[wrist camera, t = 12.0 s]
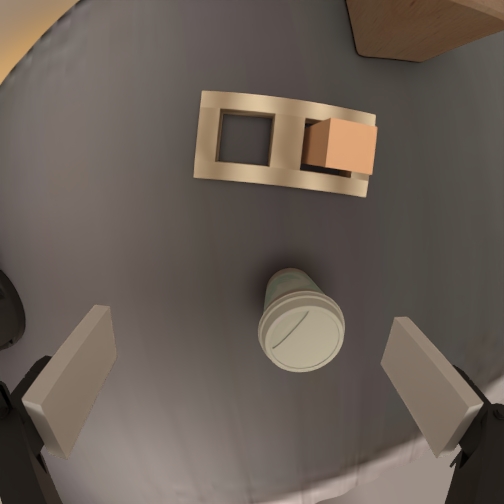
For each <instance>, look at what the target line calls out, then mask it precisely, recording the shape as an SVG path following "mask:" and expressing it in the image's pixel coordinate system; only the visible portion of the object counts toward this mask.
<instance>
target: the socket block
mask: <svg viewBox="0 0 504 504" xmlns="http://www.w3.org/2000/svg"><path fill="white" fill-rule="evenodd" d="M223 114H230V115H242V116H253V117H262V118H271V119H272V124H271V134H270V143H269V152H268V161H267V166H266V165H256V164H246V163H235V162H224V161H219V151H220V141H221V132H222V122H223ZM375 117H376V115H373V114H369V113H365V112H360V111H356V110H351V109H346V108H341V107H336V106H331V105H326V104H320V103H314V102H308V101H302V100H295V99H288V98H281V97H273V96H264V95H255V94H244V93H232V92H217V91H202V97H201V105H200V114H199V124H198V133H197V143H196V154H195V166H194V178H206V179H218V180H230V181H241V182H251V183H261V184H271V185H280V186H288V187H296V188H305V189H312V190H320V191H327V192H334V193H341V194H348V195H355V196H361V197H366V193H367V186H368V179H369V174H365V173H359V172H353V171H348V170H342V169H340V171H339V175H334V174H328V173H321V172H314V171H306V170H300V163H301V154H302V145H303V136H304V127H305V123H308V124H314V125H315V124H317V123H319V122H321V121H324V120H326V119H329V118H336V119H341V120H346V121H351V122H356V123H361V124H365V125H370V126H374V127H375Z"/></svg>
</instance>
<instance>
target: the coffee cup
mask: <svg viewBox="0 0 504 504" xmlns="http://www.w3.org/2000/svg"><path fill="white" fill-rule="evenodd" d="M344 332H345V323H344V317H343V314H342V311H341V309H340V308H339V306H338V305H337V304H336V303H335V302H334V301H333V300H332V299H331V298H329V297H328V296H326V295H325V294H324V293H323V292H322V291H321V290H320V289H319V287H318V286H317V285H316V284H315V283H314V282H313V281H312V280H311V278H310V277H309V276H308V275H307V274H306V273H305V272H303V271H301V270H299V269H296V268H286V269H282V270H280V271H278V272H276V273H275V274H274V275H273V276H272V277H271V278H270V280H269V282H268V284H267V288H266V296H265V304H264V312H263V316H262V318H261V320H260V323H259V327H258V338H259V342H260V344H261V347H262V349H263V351H264V352H265V354H266V355H267V356H268V357H269V358H270V359H271V361H272V362H273V363H275V364H276V365H277V366H279V367H280V368H282V369H285V370H288V371H292V372H307V371H312V370H315V369H317V368H320V367H322V366H324V365H325V364H327V363H328V362H329V361H331V360H332V359H333V358H334V357H335V356H336V354H337V353H338V351H339V350H340V348H341V346H342V343H343V337H344Z"/></svg>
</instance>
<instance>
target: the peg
mask: <svg viewBox="0 0 504 504" xmlns="http://www.w3.org/2000/svg"><path fill="white" fill-rule="evenodd" d="M376 136H377V127H374V126H370V125H365V124H361V123H356V122H351V121H346V120H341V119H336V118H329V119H326V120H324V121H321V122H319V123H317V124H315V125H312V126H310V127H308V128H305V129H304V136H303V145H302V154H301V163H303V164H310V165H316V166H323V167H329V168H335V169H342V170H348V171H353V172H359V173H365V174H370V175H372V170H373V162H374V154H375V145H376Z"/></svg>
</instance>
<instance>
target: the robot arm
mask: <svg viewBox="0 0 504 504" xmlns="http://www.w3.org/2000/svg"><path fill="white" fill-rule="evenodd" d="M24 328H25V317H24V311H23V307H22V304H21V301H20V299H19V296H18V294H17V292H16V290H15V288H14V287H13V285H12V284H11V282H10V281H9V279H8V278H7V277H6V276H5V274H4V273H3V272H2V271H1V270H0V350H3V349H6V348H9V347H11V346H12V345H14V344H15V343H16V342H17V341H18V340H19V339H20V338H21V336H22V335H23V332H24ZM116 358H117V351H116V345H115V339H114V332H113V326H112V318H111V311H110V306H104V305H94V306H93V307H92V309H91V310H90V311H89V312H88V313H87V315H86V316H85V317H84V318H83V319H82V321H81V322H80V323H79V324H78V326H77V327H76V328H75V329H74V330H73V332H72V333H71V334H70V335H69V337H68V338H67V339H66V340H65V342H64V343H63V344H62V345H61V347H60V348H59V349H58V351H57V352H56V353H55V354H54V356H53V357H50V356H44V357H43V358H41V359H39V360H38V361H36V362H35V364H34V365H33V366H32V367H31V369H30V371H28V372H27V374H26V375H25V378H23V379H22V380H21V381H20V383H19V384H18V385H17V387H16V388H15V389H14V391H13V392H12V393H11V395H10V393H9V390H8V388H7V386H6V384H5V383H3V382H2V381H0V498H1V501H2V504H63V503H62V501H61V499H60V497H59V495H58V492H57V490H56V488H55V485H54V483H53V481H52V478H51V476H50V473H49V471H48V468H47V466H46V463H45V460H44V458H43V456H42V454H41V452H40V451H41V449H42V447H43V445H45V447H46V449H47V450H48V452H49V454H51V455H54V456H57V457H60V458H63V459H66V460H68V458H69V456H70V453H71V451H72V449H73V447H74V444H75V442H76V440H77V438H78V436H79V433H80V431H81V429H82V427H83V425H84V423H85V420H86V418H87V416H88V414H89V412H90V410H91V408H92V406H93V404H94V402H95V400H96V398H97V396H98V394H99V392H100V389H101V387H102V385H103V383H104V382H105V380H106V378H107V376H108V374H109V372H110V370H111V368H112V366H113V364H114V362H115V360H116ZM381 365H382V367H383V369H384V370H385V372H386V373H387V375H388V377H389V378H390V380H391V382H392V383H393V385H394V386H395V388H396V390H397V391H398V393H399V395H400V396H401V398H402V400H403V401H404V403H405V405H406V406H407V408H408V410H409V411H410V413H411V415H412V416H413V418H414V420H415V422H416V423H417V425H418V427H419V428H420V430H421V432H422V434H423V435H424V437H425V439H426V441H427V442H428V444H429V446H430V448H431V449H432V451H433V453H434V455H435V456H436V458H440V457H443V456H446V455H449V454H451V453H452V452H453V451H454V449H455V448H456V446H457V445H458V443H459V445H460V446H461V448H462V449H461V451H460V452H459V454H458V455H457V456H456V458H455V459H454V460H453V462H452V463H451V465H450V467H452V466H453V465H454V464H455V463H456V466H455V470H454V474H453V477H452V481H451V485H450V488H449V491H448V495H447V498H446V501H445V504H504V405H502V404H498V403H495V404H491V403H490V401H489V400H488V399H487V398H486V397H485V396H484V394H483V393H482V392H481V391H480V390H479V389H478V387H477V386H476V385H474V383H473V382H472V380H469V377H468V376H467V375H466V374H465V372H464V371H462V370H461V369H459V368H458V367H456V366H455V365H451V364H450V363H449V362H448V360H447V359H446V358H445V357H444V356H443V355H442V354H441V353H440V351H439V350H438V349H437V348H436V347H435V346H434V345H433V344H432V343H431V342H430V340H429V339H428V338H427V337H426V336H425V335H424V334H423V333H422V332H421V331H420V330H419V328H418V327H417V326H416V325H415V324H414V323H413V322H412V321H411V320H410V319H409V318H408V317H394V321H393V325H392V328H391V332H390V335H389V338H388V342H387V345H386V348H385V351H384V355H383V358H382V361H381Z"/></svg>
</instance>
